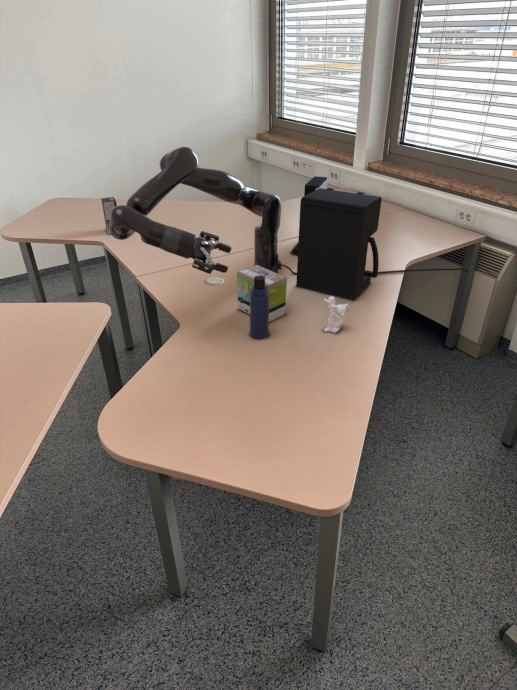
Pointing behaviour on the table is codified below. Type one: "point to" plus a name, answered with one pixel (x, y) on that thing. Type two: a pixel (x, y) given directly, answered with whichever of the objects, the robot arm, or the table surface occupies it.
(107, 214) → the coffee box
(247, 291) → the tea box
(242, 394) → the table surface
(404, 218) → the table surface
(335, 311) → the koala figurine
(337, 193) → the coffee maker
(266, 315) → the water bottle
